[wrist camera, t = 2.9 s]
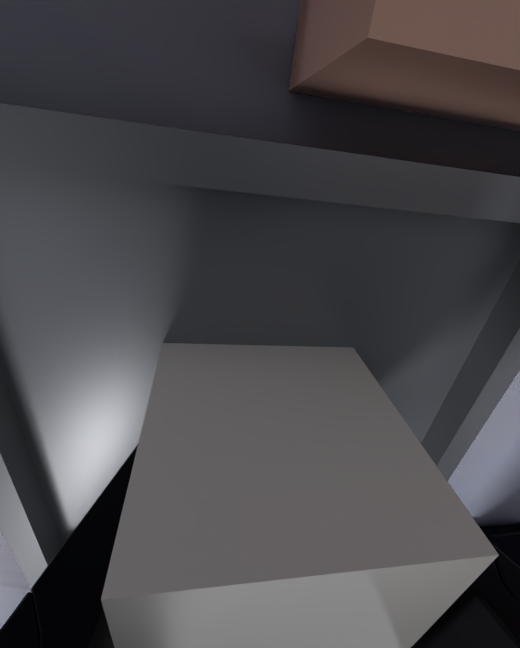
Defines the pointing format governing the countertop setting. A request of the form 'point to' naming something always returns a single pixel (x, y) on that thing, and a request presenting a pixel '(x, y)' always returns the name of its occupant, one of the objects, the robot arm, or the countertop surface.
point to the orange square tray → (413, 56)
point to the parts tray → (229, 289)
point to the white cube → (282, 509)
